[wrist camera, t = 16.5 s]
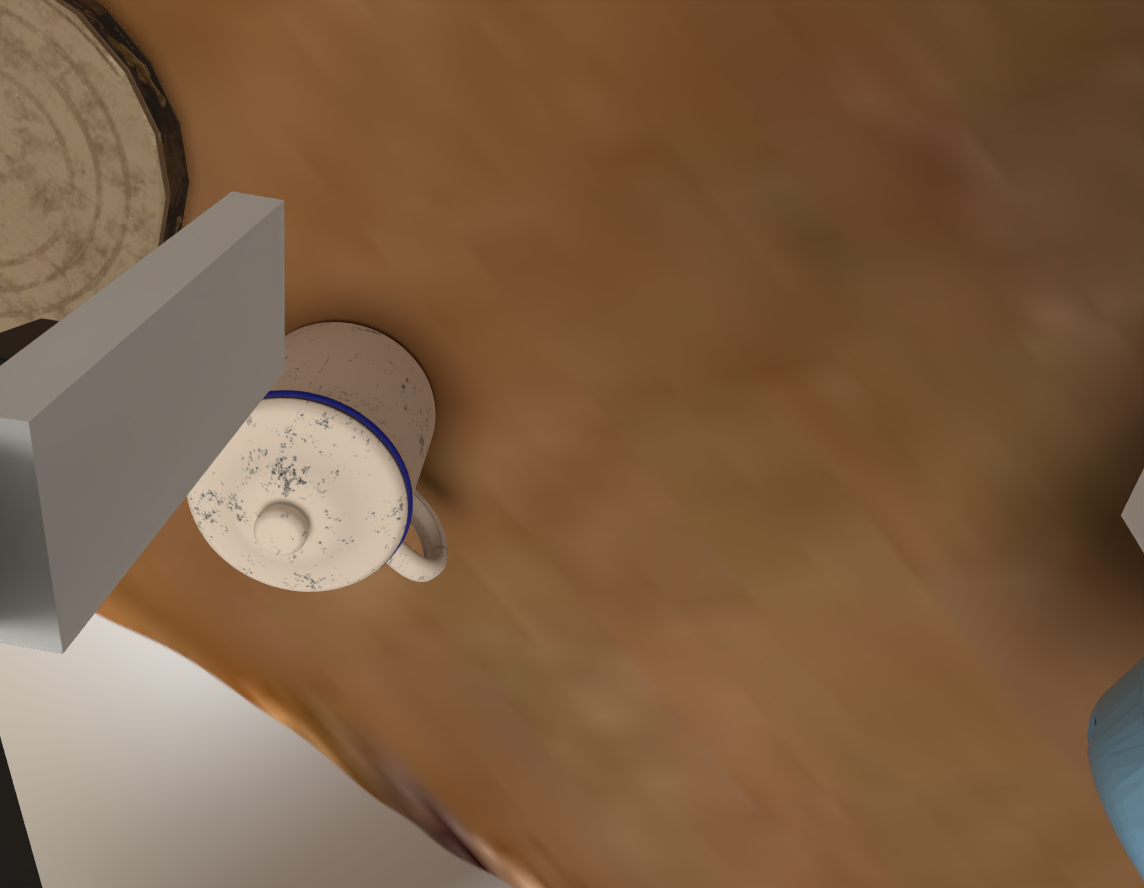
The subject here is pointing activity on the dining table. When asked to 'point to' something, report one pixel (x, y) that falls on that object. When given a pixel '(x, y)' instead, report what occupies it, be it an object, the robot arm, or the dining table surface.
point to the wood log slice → (79, 157)
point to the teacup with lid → (328, 468)
